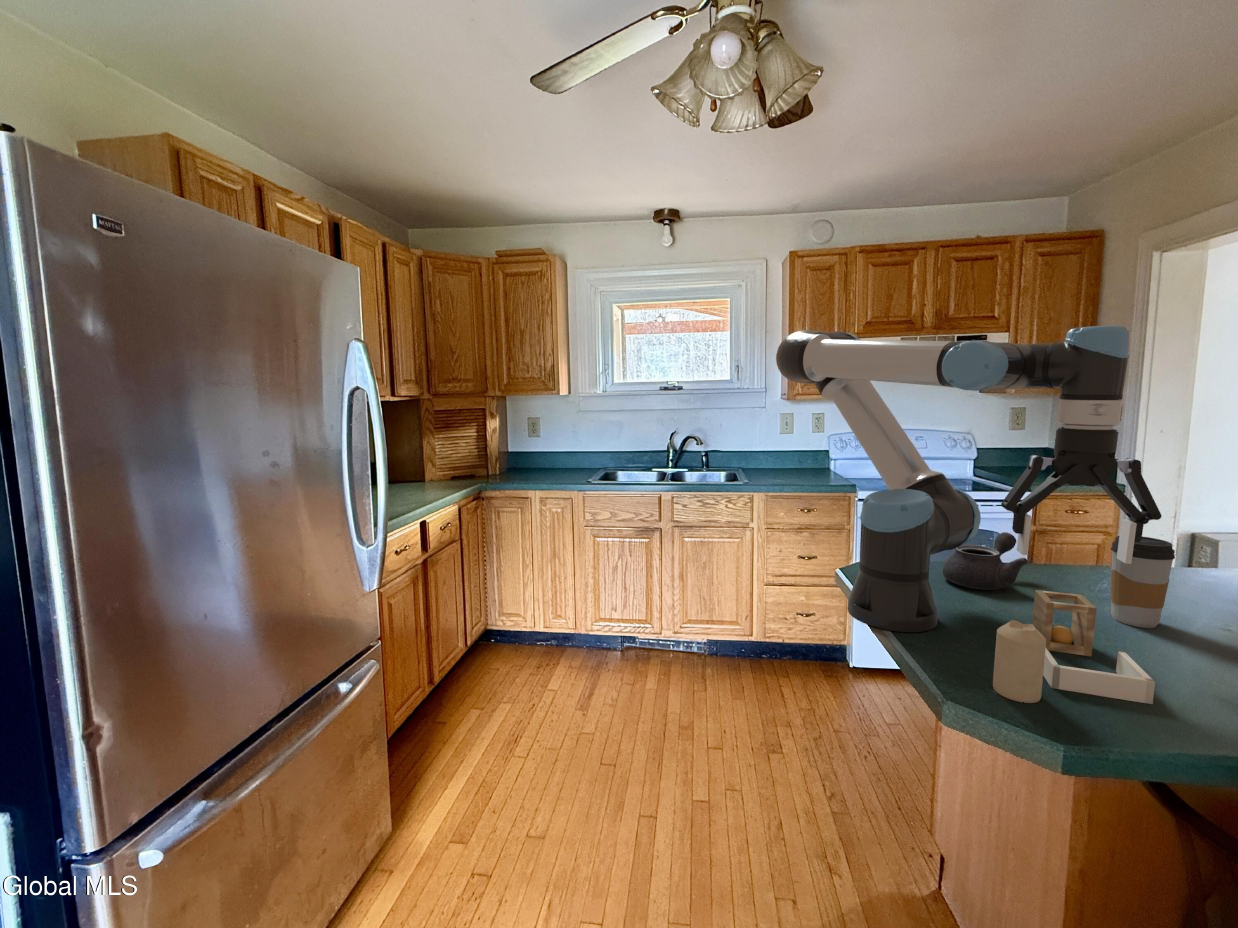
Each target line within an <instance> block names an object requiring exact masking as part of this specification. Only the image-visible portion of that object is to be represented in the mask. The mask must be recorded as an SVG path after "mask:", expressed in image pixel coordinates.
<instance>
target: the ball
mask: <svg viewBox="0 0 1238 928" xmlns="http://www.w3.org/2000/svg"><path fill="white" fill-rule="evenodd" d="M1073 639H1074V636H1073V634H1072V632H1071V629H1070V628H1068V627H1066V626H1063V625H1055V626H1052V630H1051V641H1050V642H1056V643H1063V644H1071V645H1072V643H1073Z"/></svg>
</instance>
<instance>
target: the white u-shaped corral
mask: <svg viewBox="0 0 1238 928" xmlns="http://www.w3.org/2000/svg"><path fill="white" fill-rule="evenodd" d="M1117 651H1118V650H1117ZM1115 672H1116V673H1113V672H1108V671H1100V670H1093V669H1089V668H1088V669H1086V668H1079V667H1075V666H1065V665H1060V664H1058V662H1057V661H1056V659H1055V658H1054V657H1053V655H1052V654H1051V652H1050V651H1049V650H1047V649H1045V660H1044V671H1043V678H1044V679H1045V680H1046V682H1047V684H1048V686H1050V688H1051V689H1056V690H1062V691H1068V692H1073V693H1074V692H1075V693H1081V694H1087V695H1092V696H1098V697H1105V698H1111V699H1118V700H1124V701H1131V702H1134V703H1136V702H1137V703H1143V704H1149V705H1153V704H1154V694H1155V686H1156V681H1155V680H1154V678H1152V677H1151V676H1150V675H1149V674H1148V673H1147V672H1146V671H1145V670H1144V669H1142V667H1141V666H1139V664H1138V663H1136V662H1135V660H1134V659H1132V658H1131V657H1130V656H1129V654H1127V652H1124V651H1118V652H1117V658H1116V668H1115Z"/></svg>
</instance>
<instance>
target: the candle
mask: <svg viewBox="0 0 1238 928" xmlns="http://www.w3.org/2000/svg"><path fill="white" fill-rule="evenodd" d="M995 637H996V640H995V651H994V661H993V662H994V664H993V677H992V687H993V688H992V689H993V690H994V691H995V692H996V693H997V694H999V695H1000V696H1002V697H1004V698H1007V699H1008V700H1011V701H1015V702H1019V703H1023V702H1024V703H1025V704H1033V703H1034V704H1035V703H1039V702H1040V700H1041V699H1042V694H1043V693H1042V690H1043V682H1044V679H1043V678H1044V676H1043V671H1044V660H1045V649H1046V638H1045V637H1044V636H1043V635H1042V634H1041V633H1040V632H1039V631H1038V630H1037V629H1036V628H1035V627H1034V625H1032V623H1025V624H1024V623H1021V622H1020V621H1018V620H1015V619H1014V620H1013V619H1012V620H1010V621H1009V622H1007V623H1005V624H1003V625H1001V626H1000V627H998V628H997V629H996V636H995Z"/></svg>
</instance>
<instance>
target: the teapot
mask: <svg viewBox="0 0 1238 928" xmlns="http://www.w3.org/2000/svg"><path fill="white" fill-rule="evenodd" d="M1016 544H1017V539H1016V537H1015V536H1014V535H1013V534H1012V533H1010V532H1007V531H1006V532H1005V531H1003V532H1000V533H999V534H998V535H997V536H996V538H995V539H994V545H993V547H988V546H982V545H974V544H969V545H968V544H963V545H962V546H959V547H957V548H956V549H954V552H953V553H952V554H951V555H950V556H949V557H948V559H947V560H946V561H945V563H944V564H943V567H942V576H943V577H944V578H945V579H946V580H948V581H949V582H951V583H953V584H957V585H958V586H962V587H965V588H968V589H972V590H973V589H975V590H983V591H986V590H991V591H992V590H1001V589H1004V588H1007V587H1008V586H1010V585H1013V584H1014V583H1015V582H1016V580H1017V577H1018V575H1019V573H1020V571H1021V569H1022V568H1023V567H1024V566H1025V565H1027V564H1029V563H1030V562H1029V561H1028V559H1027V558H1026V557H1019V558H1016V559H1014V560H1011V561H1010V562H1005V563H1004V562H1003V561H1002V558H1001V556H1003V555H1004V554H1005V553H1007V552H1010V551H1011V550H1013V549H1014V547H1015V546H1016Z"/></svg>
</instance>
